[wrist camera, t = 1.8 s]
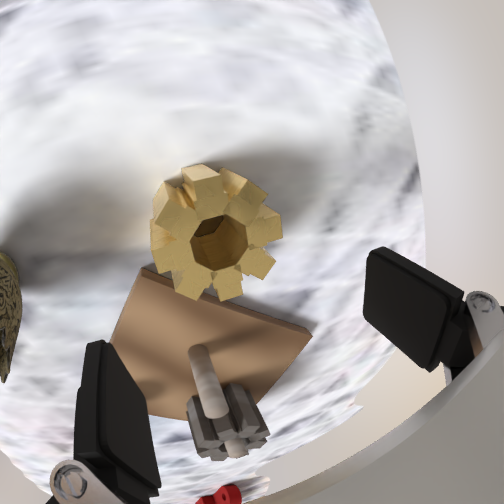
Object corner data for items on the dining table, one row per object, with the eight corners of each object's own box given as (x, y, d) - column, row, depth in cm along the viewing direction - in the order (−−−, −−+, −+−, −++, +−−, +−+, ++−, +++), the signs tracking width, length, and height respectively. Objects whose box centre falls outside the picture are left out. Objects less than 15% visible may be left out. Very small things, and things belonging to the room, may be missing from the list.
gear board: (141, 267, 18) (142, 336, 12) (306, 328, 26) (348, 380, 20) (92, 390, 20) (91, 456, 14) (233, 417, 28) (254, 468, 22)
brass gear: (139, 179, 16) (135, 196, 11) (242, 155, 17) (274, 163, 13) (166, 273, 19) (173, 315, 14) (256, 246, 20) (286, 279, 16)
